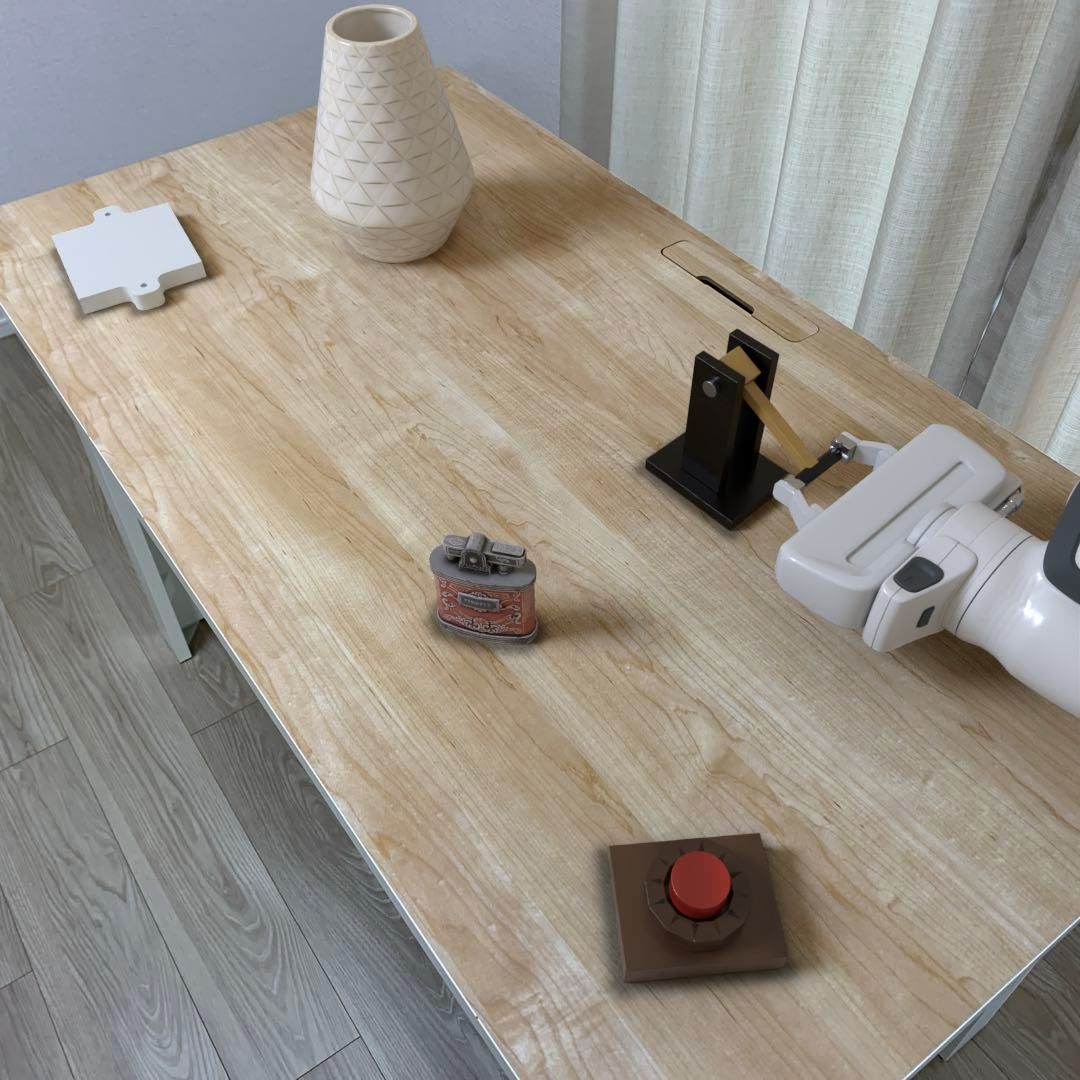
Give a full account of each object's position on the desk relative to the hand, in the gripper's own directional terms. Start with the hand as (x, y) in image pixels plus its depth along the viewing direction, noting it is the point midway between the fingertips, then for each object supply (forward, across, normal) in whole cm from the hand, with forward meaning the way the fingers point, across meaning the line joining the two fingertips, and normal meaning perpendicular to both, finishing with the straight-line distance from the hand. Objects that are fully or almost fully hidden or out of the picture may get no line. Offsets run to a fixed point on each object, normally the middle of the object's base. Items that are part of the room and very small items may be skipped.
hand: (807, 462), depth 82 cm
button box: (-17, +30, +8) cm, 35 cm away
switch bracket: (+8, 0, +8) cm, 12 cm away
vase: (+57, -2, +8) cm, 58 cm away
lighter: (+10, +25, +8) cm, 28 cm away
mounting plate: (+73, +23, +8) cm, 77 cm away
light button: (-17, +30, +4) cm, 35 cm away
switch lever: (+5, 0, -1) cm, 5 cm away
